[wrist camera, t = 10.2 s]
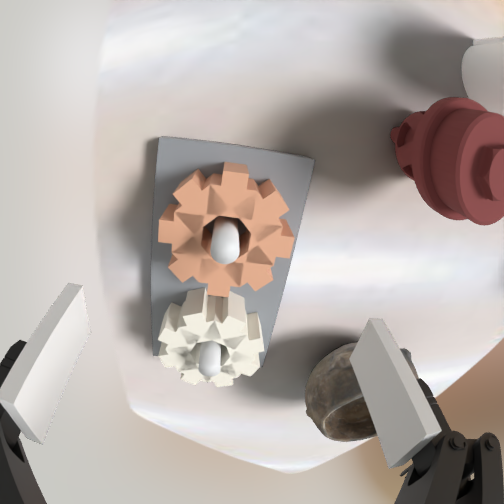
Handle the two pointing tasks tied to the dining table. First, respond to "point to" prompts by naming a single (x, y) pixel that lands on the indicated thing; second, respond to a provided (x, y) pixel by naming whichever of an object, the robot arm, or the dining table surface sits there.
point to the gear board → (210, 163)
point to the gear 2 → (211, 336)
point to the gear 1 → (231, 205)
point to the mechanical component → (455, 158)
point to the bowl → (340, 397)
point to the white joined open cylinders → (485, 73)
